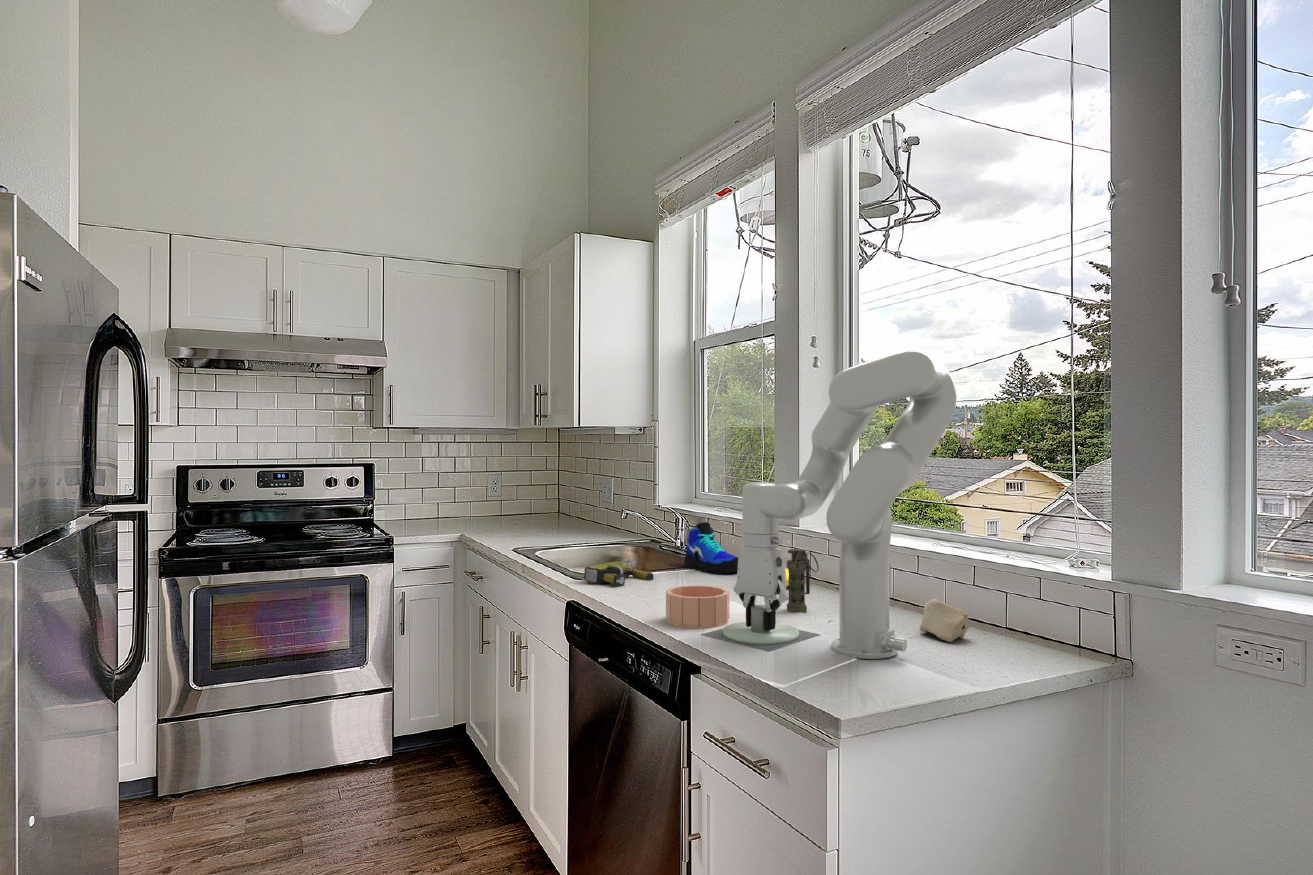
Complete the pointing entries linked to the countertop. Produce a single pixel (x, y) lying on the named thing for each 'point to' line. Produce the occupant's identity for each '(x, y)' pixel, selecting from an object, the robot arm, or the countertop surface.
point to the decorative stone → (944, 620)
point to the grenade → (798, 580)
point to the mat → (802, 636)
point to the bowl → (697, 606)
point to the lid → (760, 630)
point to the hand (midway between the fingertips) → (760, 626)
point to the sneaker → (708, 552)
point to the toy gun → (614, 573)
